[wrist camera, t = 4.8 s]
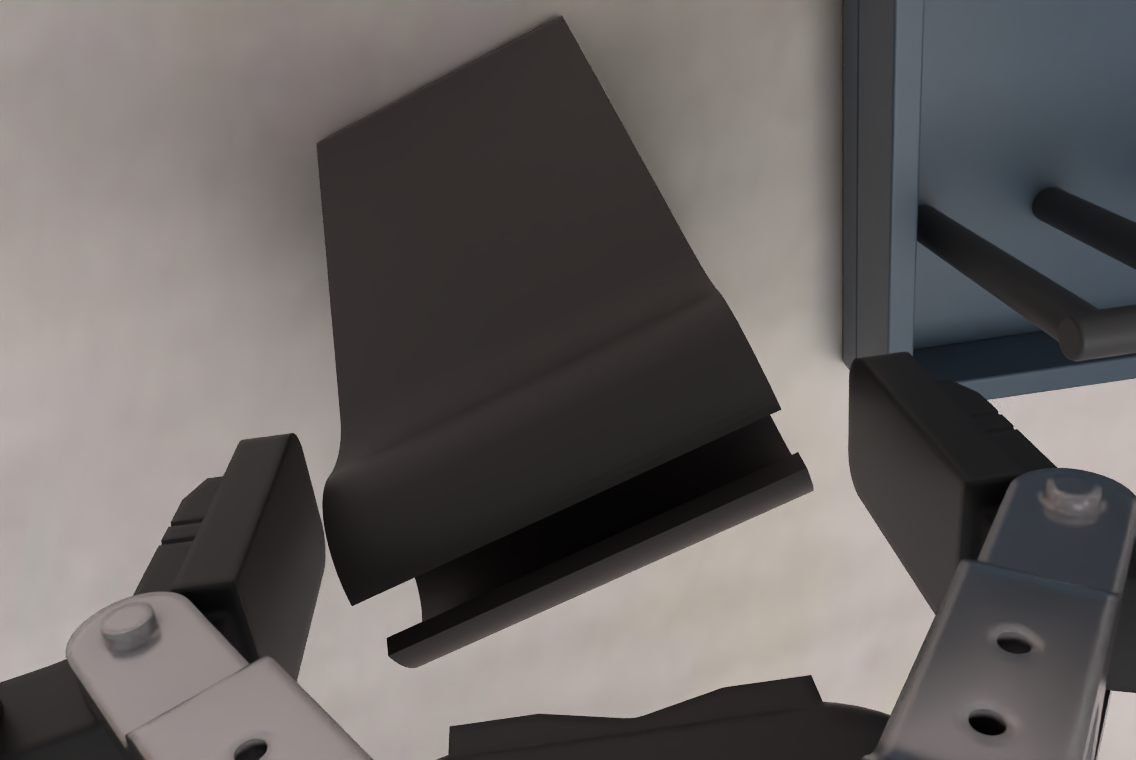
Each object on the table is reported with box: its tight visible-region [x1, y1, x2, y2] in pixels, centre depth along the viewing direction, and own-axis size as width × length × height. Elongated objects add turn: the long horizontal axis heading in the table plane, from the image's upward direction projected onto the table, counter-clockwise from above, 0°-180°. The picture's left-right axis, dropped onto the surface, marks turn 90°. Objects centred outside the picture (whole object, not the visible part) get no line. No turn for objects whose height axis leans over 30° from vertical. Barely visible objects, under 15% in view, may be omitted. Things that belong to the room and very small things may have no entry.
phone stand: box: [317, 16, 813, 668], centre depth 18 cm, size 9×6×12 cm, turn 25°
